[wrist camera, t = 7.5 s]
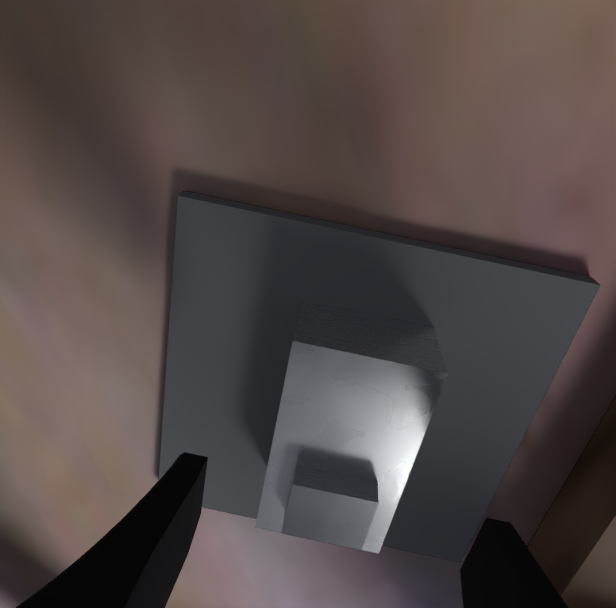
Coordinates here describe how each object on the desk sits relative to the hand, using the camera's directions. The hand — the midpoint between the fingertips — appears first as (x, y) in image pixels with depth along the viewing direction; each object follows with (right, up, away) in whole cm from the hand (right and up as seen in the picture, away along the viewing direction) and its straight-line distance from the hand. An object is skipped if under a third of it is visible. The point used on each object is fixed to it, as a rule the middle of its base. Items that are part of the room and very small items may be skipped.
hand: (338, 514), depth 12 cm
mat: (0, +2, +4) cm, 5 cm away
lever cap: (0, +2, +4) cm, 4 cm away
